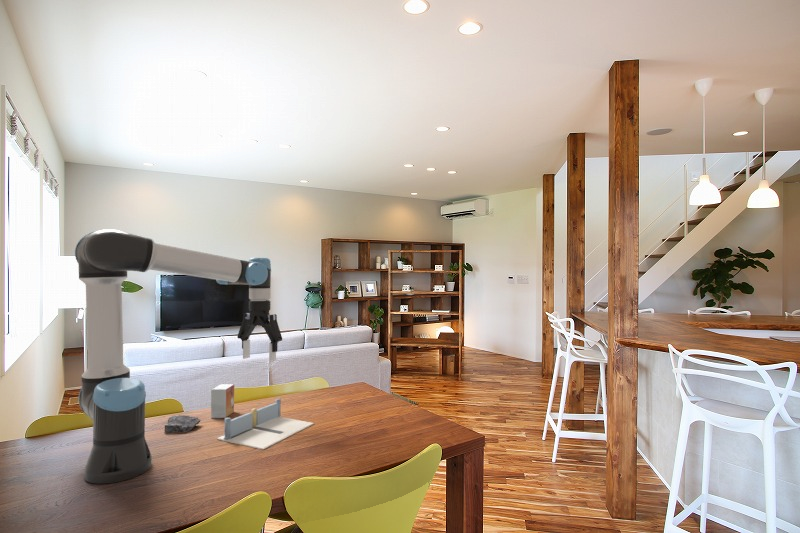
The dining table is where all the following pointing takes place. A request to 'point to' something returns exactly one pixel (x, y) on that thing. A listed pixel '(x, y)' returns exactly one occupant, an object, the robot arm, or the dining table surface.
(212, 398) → the small box
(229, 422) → the fixed fence panel
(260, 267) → the robot arm
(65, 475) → the dining table surface
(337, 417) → the dining table surface
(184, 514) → the dining table surface
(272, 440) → the card
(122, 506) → the dining table surface
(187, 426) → the rock
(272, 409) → the swing fence panel
